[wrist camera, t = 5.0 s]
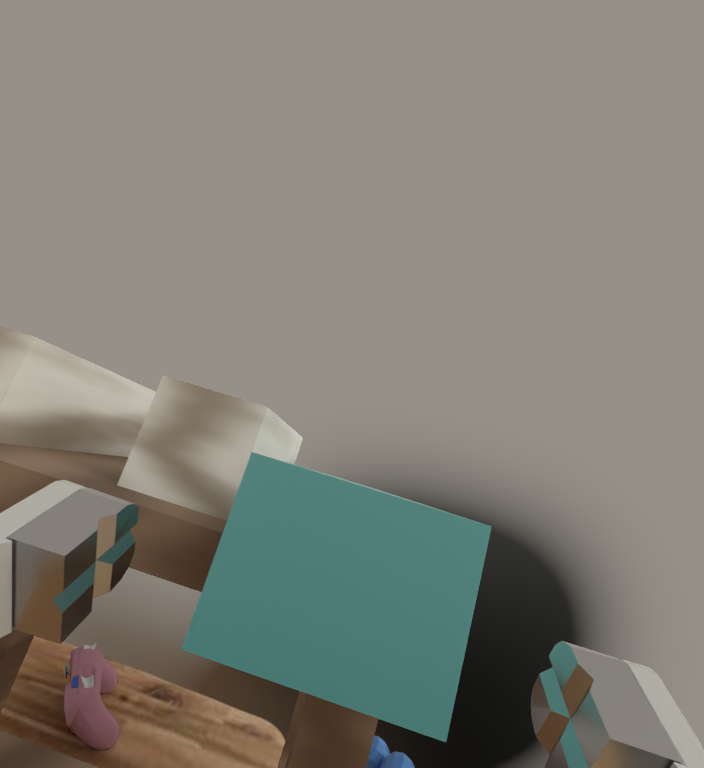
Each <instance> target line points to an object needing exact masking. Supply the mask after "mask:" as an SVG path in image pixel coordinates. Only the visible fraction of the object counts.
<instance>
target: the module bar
mask: <svg viewBox="0 0 704 768" xmlns="http://www.w3.org/2000/svg"><path fill="white" fill-rule="evenodd" d="M490 531H491V526H488V525H485V524H482V523H479V522H476V521H472V520H469V519H467V518H463V517H460V516H457V515H454V514H451V513H448V512H445V511H442V510H439V509H436V508H433V507H430V506H426V505H423V504H420V503H417V502H414V501H411V500H408V499H405V498H402V497H399V496H396V495H392V494H389V493H386V492H383V491H380V490H377V489H374V488H370V487H367V486H364V485H361V484H357V483H354V482H351V481H348V480H345V479H341V478H338V477H335V476H332V475H329V474H325V473H322V472H318V471H315V470H311V469H308V468H305V467H301V466H298V465H294V464H291V463H288V462H284V461H281V460H277V459H274V458H271V457H267V456H264V455H260V454H257V453H253V452H251V455H250V458H249V461H248V463H247V466H246V469H245V472H244V475H243V477H242V480H241V483H240V486H239V489H238V492H237V494H236V497H235V500H234V503H233V506H232V508H231V511H230V514H229V517H228V520H227V522H226V525H225V528H224V531H223V534H222V537H221V539H220V542H219V545H218V548H217V551H216V553H215V556H214V559H213V562H212V565H211V567H210V570H209V573H208V576H207V579H206V582H205V584H204V587H203V590H202V593H201V596H200V599H199V601H198V604H197V607H196V610H195V613H194V615H193V618H192V621H191V624H190V627H189V629H188V632H187V635H186V638H185V641H184V643H183V646H182V650H185V651H187V652H190V653H193V654H196V655H199V656H202V657H205V658H208V659H210V660H213V661H216V662H219V663H222V664H224V665H228V666H230V667H233V668H236V669H239V670H242V671H244V672H248V673H250V674H253V675H256V676H259V677H262V678H264V679H267V680H270V681H273V682H276V683H279V684H282V685H284V686H287V687H290V688H293V689H296V690H299V691H301V692H304V693H307V694H310V695H313V696H316V697H318V698H321V699H324V700H327V701H330V702H333V703H335V704H338V705H341V706H344V707H347V708H350V709H353V710H355V711H358V712H361V713H364V714H367V715H370V716H372V717H375V718H378V719H381V720H384V721H387V722H390V723H392V724H396V725H398V726H401V727H404V728H407V729H409V730H412V731H415V732H418V733H421V734H424V735H427V736H429V737H433V738H435V739H438V740H441V741H444V742H446V739H447V735H448V730H449V726H450V721H451V716H452V711H453V707H454V702H455V697H456V692H457V687H458V683H459V678H460V673H461V668H462V664H463V659H464V654H465V650H466V645H467V640H468V635H469V630H470V626H471V621H472V616H473V612H474V607H475V602H476V598H477V593H478V588H479V583H480V579H481V574H482V569H483V564H484V560H485V555H486V550H487V545H488V541H489V536H490Z"/></svg>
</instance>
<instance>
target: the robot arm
mask: <svg viewBox="0 0 704 768" xmlns="http://www.w3.org/2000/svg"><path fill="white" fill-rule="evenodd" d="M138 512H139V508H138V507H137V506H136V505H135V504H134V503H131V502H128V501H126V500H123V499H120V498H117V497H114V496H111V495H108V494H106V493H103V492H100V491H97V490H94V489H91V488H86V487H84V486H81V485H78V484H75V483H73V482H70V481H67V480H60V481H55V482H53V483H51V484H49V485H48V486H46V487H44V488H43V489H41V490H39V491H37V492H36V493H34V494H32V495H31V496H29V497H27V498H25V499H24V500H22V501H20V502H19V503H17V504H15V505H13V506H12V507H10V508H8V509H7V510H5V511H3V512H1V513H0V638H1V637H3V636H5V635H7V634H9V633H11V632H12V629H14V630H17V631H21V632H24V633H27V634H30V635H33V636H37V637H40V638H43V639H46V640H49V641H53V642H56V643H59V644H61V643H62V642H63V641H64V640H65V639H66V638H67V636H69V635H70V634H71V632H72V631H73V630H74V629H75V628H76V627H77V626H78V625H79V624H80V623H81V622H82V621H83V620H84V619H85V618H86V617H87V616H88V615H89V614H90V612H91V610H92V600H93V599H94V598H96V597H98V596H101V595H104V594H106V593H108V592H110V591H111V590H112V589H113V588H114V587H115V586H116V585H117V583H118V582H119V581H120V580H121V579H122V577H123V575H124V574H125V572H126V570H127V569H128V567H129V565H130V563H131V560H132V557H133V555H134V551H135V543H136V541H135V539H134V537H133V535H132V533H131V532H130V529H131V528H132V527H133V526H135V525H136V524H137V523H138ZM549 657H550V660H551V663H552V667H553V668H551V669H549V670H546V671H544V672H542V673H540V674H539V676H538V678H537V680H536V682H535V684H534V686H533V690H532V699H531V714H532V721H533V725H534V730H535V734H536V737H537V738H538V739H539V741H540V742H541V744H542V745H543V746H544V747H545V749H546V750H547V752H548V753H549V757H548V759H547V762H546V764H545V768H704V749H703V747H702V746H701V744H700V742H699V741H698V739H697V738H696V736H695V734H694V733H693V731H692V729H691V728H690V726H689V724H688V723H687V721H686V720H685V718H684V716H683V715H682V713H681V711H680V710H679V708H678V707H677V705H676V703H675V702H674V700H673V698H672V697H671V695H670V693H669V692H668V690H667V689H666V687H665V685H664V684H663V682H662V680H661V679H660V677H659V676H658V675H657V674H656V673H655V672H654V671H653V670H652V669H651V668H649V667H646V666H643V665H640V664H636V663H633V662H630V661H626V660H623V659H617V658H614V657H611V656H608V655H605V654H602V653H599V652H596V651H592V650H589V649H586V648H583V647H579V646H576V645H573V644H570V643H567V642H563V641H561V642H559V643H558V644H556V645H555V646H554V648H553V650H552V652H551V653H550V655H549Z"/></svg>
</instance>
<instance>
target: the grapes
mask: <svg viewBox="0 0 704 768" xmlns="http://www.w3.org/2000/svg"><path fill="white" fill-rule="evenodd" d="M366 768H415V767H414V765H413V763H412V761H411V760H410V759H409V758H408V757H407V756H406V755H405V754H404V753H400V752H393V753H391V754H390V753H389V750H388V748H387V745H386V743H385V742H384V741H383V740H382V739H381V738H380V737H378V736H374V738H373V742H372V746H371V750H370V754H369V758H368V762H367V766H366Z"/></svg>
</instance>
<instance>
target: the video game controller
mask: <svg viewBox="0 0 704 768" xmlns="http://www.w3.org/2000/svg"><path fill="white" fill-rule="evenodd" d="M67 674H68V675H69V676H70V678H71V682H70V683H67V684H66V685H65V693H64V704H63V706H64V714H65V718H66V725H67V727H68V728H70V730H71V733H75V734H76V735H77V737H78V738H79V739H80V740H82V741H83V742H84V743H85V744H86V745H88V746H90V747H92V748H94V749H97V750H106V749H110V748H111V747H112V746H113V745H114V744H115V743H116V742H117V740H118V738H119V734H120V728H119V724H118V722H117V720H116V719H115V717H114V716H113V715H112V714H111V713H110V712H109V711H108V709H107V708H106V706H105V705H104V703H103V701H102V699H101V695H100V693H104V694H107V693H110V692H111V691H113V690H114V689H115V688H116V686H117V683H118V675H117V672H116V670H115V669H114V668H113V667H112V665H111V664H110V663H109V662H108V661H107V660H106V659H105V657H104V656H103V654H102V652H101V649H100V648H99V647H97V646H96V643H95V644H94V645H92V646H88V645H85V646H83V647H80V648H77V649H74V650H72V651H71V658H70V661H69V664H68V667H66V664H65V665H64V668H63V676H64V677H65V678H67Z"/></svg>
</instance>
